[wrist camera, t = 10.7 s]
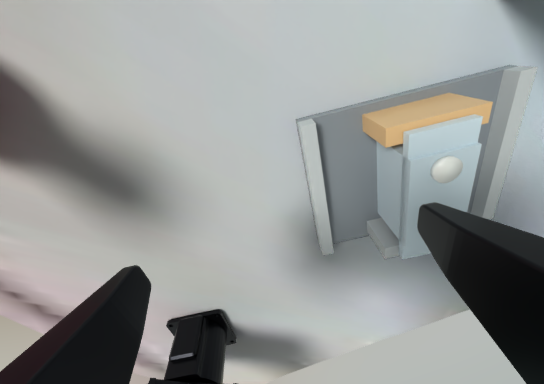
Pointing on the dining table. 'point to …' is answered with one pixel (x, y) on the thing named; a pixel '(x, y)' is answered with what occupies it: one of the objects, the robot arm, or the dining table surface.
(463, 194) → the light blue knobbed block
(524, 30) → the dining table surface
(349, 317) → the dining table surface
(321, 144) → the mounting plate
